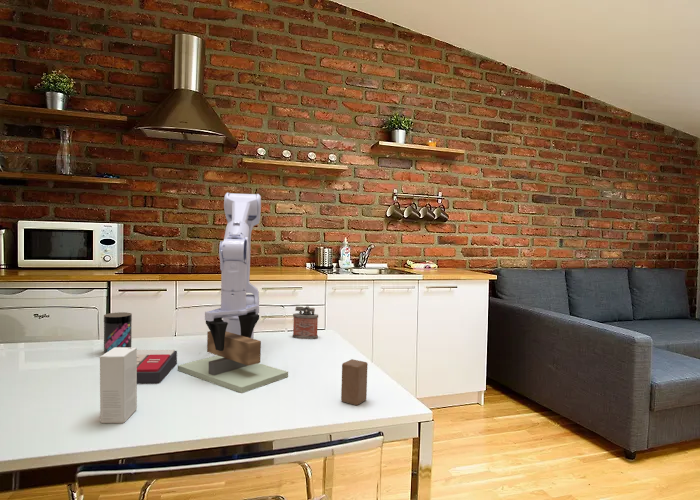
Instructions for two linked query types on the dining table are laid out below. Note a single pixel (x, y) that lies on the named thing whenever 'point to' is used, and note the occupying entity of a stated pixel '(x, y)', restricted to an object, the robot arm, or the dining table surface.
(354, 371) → the wooden block
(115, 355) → the skincare box
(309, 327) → the lighter
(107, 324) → the supplement container
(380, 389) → the dining table surface
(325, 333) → the dining table surface
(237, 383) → the stand
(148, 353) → the red and black box
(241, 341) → the walnut batten
